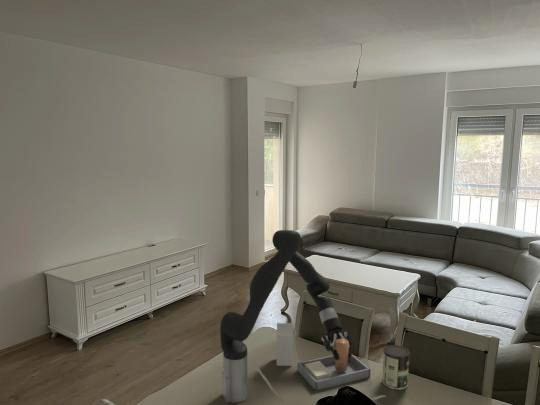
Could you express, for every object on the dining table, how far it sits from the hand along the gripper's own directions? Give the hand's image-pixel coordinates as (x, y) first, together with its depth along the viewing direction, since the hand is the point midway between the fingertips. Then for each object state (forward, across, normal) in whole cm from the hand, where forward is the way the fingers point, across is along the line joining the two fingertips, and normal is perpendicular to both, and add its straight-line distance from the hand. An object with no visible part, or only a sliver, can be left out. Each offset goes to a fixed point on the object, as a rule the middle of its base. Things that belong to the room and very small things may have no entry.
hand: (344, 358), depth 174 cm
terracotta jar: (+3, 0, +5) cm, 6 cm away
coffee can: (+15, +17, -3) cm, 23 cm away
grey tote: (+5, -4, +7) cm, 9 cm away
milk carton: (-7, -19, +19) cm, 28 cm away
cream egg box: (+4, -12, +6) cm, 14 cm away
